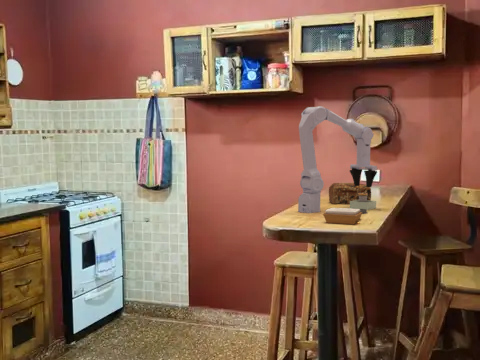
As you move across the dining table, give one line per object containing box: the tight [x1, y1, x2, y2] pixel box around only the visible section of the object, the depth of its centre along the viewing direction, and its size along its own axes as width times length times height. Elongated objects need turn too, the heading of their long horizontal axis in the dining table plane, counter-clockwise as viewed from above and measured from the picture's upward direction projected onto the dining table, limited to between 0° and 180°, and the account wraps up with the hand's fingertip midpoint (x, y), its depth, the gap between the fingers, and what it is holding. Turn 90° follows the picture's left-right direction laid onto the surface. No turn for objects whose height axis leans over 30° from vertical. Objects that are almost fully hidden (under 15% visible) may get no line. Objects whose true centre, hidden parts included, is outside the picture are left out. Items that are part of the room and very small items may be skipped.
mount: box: [351, 208, 369, 215], centre depth 229 cm, size 10×10×2 cm
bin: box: [349, 200, 377, 211], centre depth 242 cm, size 8×8×4 cm
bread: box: [328, 182, 372, 205], centre depth 269 cm, size 19×11×10 cm, turn 92°
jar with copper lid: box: [358, 193, 367, 202], centre depth 241 cm, size 4×4×7 cm
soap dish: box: [322, 207, 363, 225], centre depth 209 cm, size 12×10×5 cm
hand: (362, 186), depth 241 cm, fingers open, 7 cm apart
